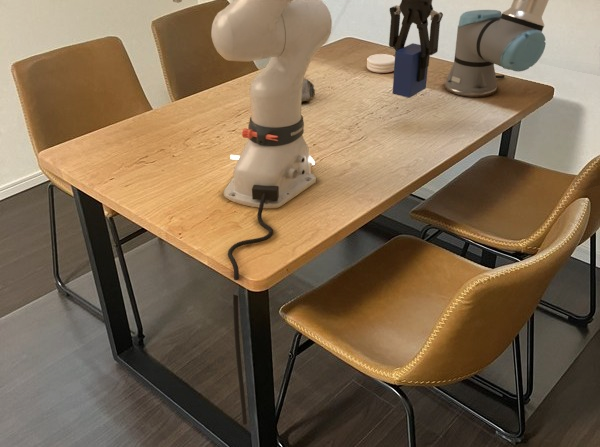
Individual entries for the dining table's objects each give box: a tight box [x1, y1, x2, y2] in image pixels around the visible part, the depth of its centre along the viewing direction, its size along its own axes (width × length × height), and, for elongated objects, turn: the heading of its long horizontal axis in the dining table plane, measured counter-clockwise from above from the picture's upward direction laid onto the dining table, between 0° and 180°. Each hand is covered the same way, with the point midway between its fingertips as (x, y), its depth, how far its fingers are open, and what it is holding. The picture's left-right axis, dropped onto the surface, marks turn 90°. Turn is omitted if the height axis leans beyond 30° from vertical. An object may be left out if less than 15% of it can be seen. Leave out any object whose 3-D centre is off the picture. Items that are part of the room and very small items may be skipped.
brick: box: [392, 42, 429, 99], centre depth 158 cm, size 5×8×11 cm, turn 141°
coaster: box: [366, 53, 395, 74], centre depth 205 cm, size 10×10×4 cm
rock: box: [301, 77, 316, 102], centre depth 184 cm, size 15×10×7 cm
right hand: (410, 77), depth 159 cm, fingers closed on brick, 5 cm apart
